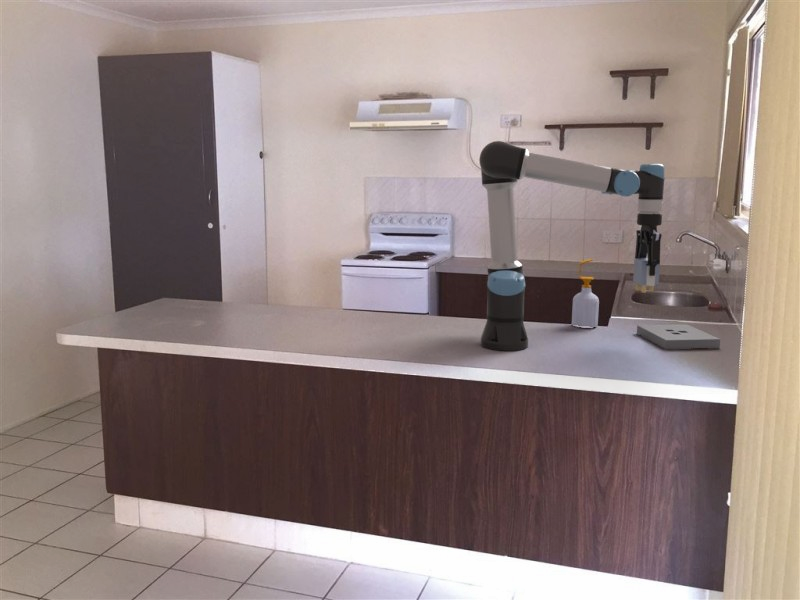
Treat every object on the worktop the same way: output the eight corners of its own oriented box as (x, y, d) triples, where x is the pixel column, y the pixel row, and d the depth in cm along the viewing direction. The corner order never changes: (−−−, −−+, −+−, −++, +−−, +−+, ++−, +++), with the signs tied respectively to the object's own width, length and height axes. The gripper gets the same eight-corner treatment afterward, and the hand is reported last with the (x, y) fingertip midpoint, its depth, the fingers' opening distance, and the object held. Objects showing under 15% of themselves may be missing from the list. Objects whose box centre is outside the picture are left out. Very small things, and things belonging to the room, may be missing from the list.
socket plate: (665, 349, 232) (666, 340, 232) (636, 333, 254) (637, 325, 253) (719, 348, 234) (720, 339, 234) (686, 332, 256) (686, 324, 255)
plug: (640, 292, 237) (642, 260, 235) (632, 289, 242) (634, 258, 241) (658, 292, 237) (660, 260, 235) (650, 289, 243) (652, 257, 241)
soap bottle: (598, 329, 260) (602, 260, 256) (571, 328, 262) (575, 259, 257) (596, 324, 269) (600, 257, 264) (571, 323, 270) (574, 256, 266)
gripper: (674, 214, 226) (670, 288, 230) (648, 210, 245) (644, 279, 249) (651, 214, 225) (646, 289, 230) (626, 211, 244) (623, 279, 248)
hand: (645, 283), depth 239 cm, fingers closed on plug, 6 cm apart
